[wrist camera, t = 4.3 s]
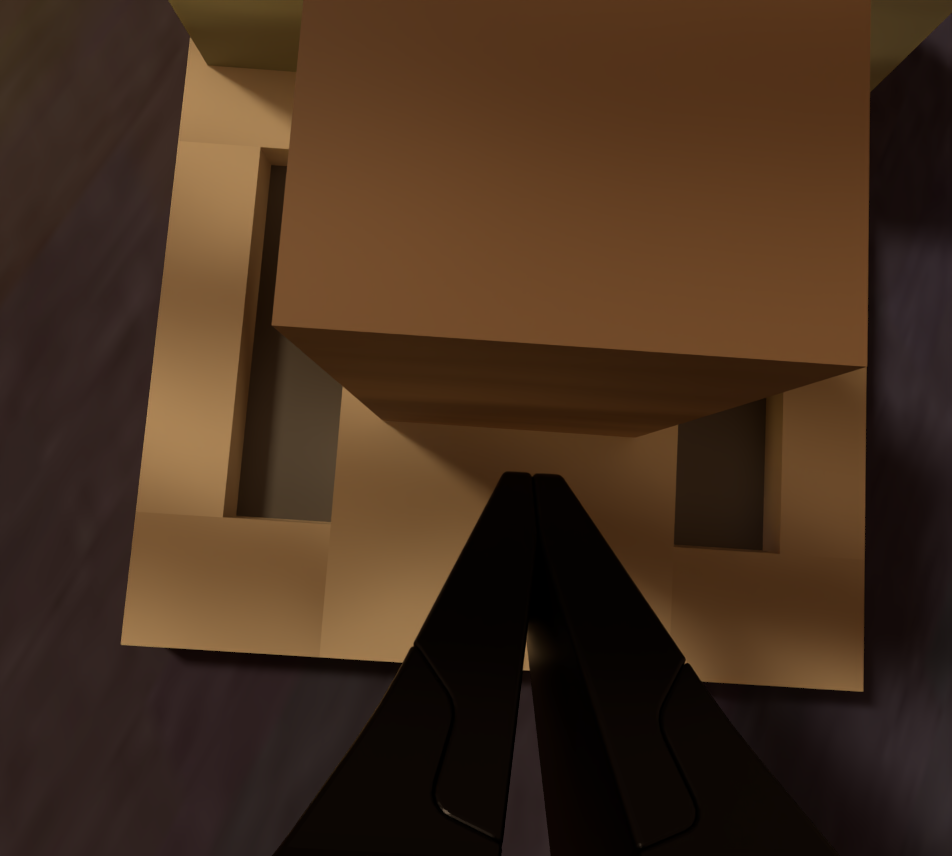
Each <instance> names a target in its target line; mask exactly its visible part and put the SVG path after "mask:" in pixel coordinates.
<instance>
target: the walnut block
mask: <svg viewBox="0 0 952 856" xmlns="http://www.w3.org/2000/svg"><path fill="white" fill-rule="evenodd" d="M870 34H871V0H303V10H302V20H301V30H300V40H299V50H298V61H297V71H296V81H295V91H294V102H293V112H292V122H291V132H290V143H289V153H288V163H287V173H286V183H285V194H284V204H283V214H282V224H281V235H280V245H279V255H278V265H277V276H276V286H275V296H274V306H273V316H272V326H273V327H274V328H275V329H276V330H278V331H279V332H280V333H281V334H282V335H283V336H285V337H286V338H287V339H288V340H289V341H290V342H292V343H293V344H294V345H295V346H296V347H297V348H299V349H300V350H301V351H302V352H303V353H304V354H306V355H307V356H308V357H309V358H310V359H311V360H313V361H314V362H315V363H316V364H317V365H318V366H320V367H321V368H322V369H323V370H324V371H325V372H327V373H328V374H329V375H330V376H331V377H332V378H334V379H335V380H336V381H337V382H338V383H339V384H341V385H342V386H343V387H344V388H345V389H346V390H348V391H349V392H350V393H351V394H352V395H353V396H354V397H356V398H357V399H358V400H359V401H360V402H361V403H363V404H364V405H365V406H366V407H367V408H368V409H370V410H371V411H372V412H373V413H374V414H375V415H377V416H378V417H379V418H380V419H381V420H383V421H397V422H412V423H427V424H442V425H456V426H471V427H486V428H501V429H515V430H530V431H545V432H560V433H574V434H589V435H604V436H619V437H633V438H636V437H639V436H643V435H646V434H649V433H652V432H656V431H659V430H662V429H665V428H669V427H672V426H675V425H679V424H682V423H685V422H688V421H692V420H695V419H698V418H701V417H705V416H708V415H711V414H714V413H718V412H721V411H724V410H727V409H731V408H734V407H737V406H741V405H744V404H747V403H750V402H754V401H757V400H760V399H763V398H767V397H770V396H773V395H776V394H780V393H783V392H786V391H789V390H793V389H796V388H799V387H803V386H806V385H809V384H812V383H816V382H819V381H822V380H825V379H829V378H832V377H835V376H838V375H842V374H845V373H848V372H851V371H855V370H858V369H861V368H865V367H867V341H868V239H869V136H870Z"/></svg>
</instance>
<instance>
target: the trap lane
mask: <svg viewBox="0 0 952 856" xmlns="http://www.w3.org/2000/svg"><path fill="white" fill-rule="evenodd" d="M168 1H169V2H170V4H171V6H172V7H173V9H174V11H175V12H176V14H177V16H178V17H179V19H180V21H181V22H182V24H183V25H184V27H185V29H186V30H187V32H188V34H189V35H190V45H189V53H188V62H187V71H186V80H185V88H184V97H183V106H182V114H181V123H180V132H179V141H178V149H177V158H176V167H175V175H174V184H173V193H172V202H171V210H170V219H169V228H168V237H167V245H166V254H165V263H164V271H163V280H162V289H161V298H160V306H159V315H158V324H157V333H156V341H155V350H154V359H153V367H152V376H151V385H150V394H149V402H148V411H147V420H146V429H145V437H144V446H143V455H142V463H141V472H140V481H139V490H138V498H137V507H136V516H135V525H134V533H133V542H132V551H131V559H130V568H129V577H128V586H127V594H126V603H125V612H124V621H123V629H122V638H121V645H133V646H149V647H165V648H180V649H196V650H212V651H228V652H244V653H259V654H275V655H291V656H307V657H322V658H338V659H354V660H370V661H386V662H401V663H403V661H404V659H405V657H406V655H407V653H408V651H409V649H410V648H411V647H413V643H414V641H415V639H416V637H417V635H418V633H419V631H420V629H421V627H422V625H423V623H424V622H425V620H426V618H427V616H428V614H429V612H430V610H431V608H432V606H433V604H434V603H435V601H436V599H437V597H438V595H439V593H440V591H441V589H442V587H443V585H444V584H445V582H446V580H447V578H448V576H449V574H450V572H451V570H452V568H453V566H454V564H455V563H456V561H457V559H458V557H459V555H460V553H461V551H462V549H463V547H464V545H465V544H466V542H467V540H468V538H469V536H470V534H471V532H472V530H473V528H474V526H475V525H476V523H477V521H478V519H479V517H480V515H481V513H482V511H483V509H484V507H485V506H486V504H487V502H488V500H489V498H490V496H491V494H492V492H493V490H494V488H495V487H496V485H497V483H498V481H499V479H500V477H501V475H502V474H503V473H504V472H505V471H516V472H528V473H530V474H531V475H532V476H533V475H534V474H536V473H547V474H559V475H561V476H562V477H563V478H564V479H565V481H566V482H567V484H568V485H569V487H570V488H571V490H572V491H573V493H574V494H575V495H576V497H577V498H578V500H579V501H580V503H581V504H582V506H583V507H584V509H585V510H586V512H587V513H588V515H589V516H590V518H591V519H592V521H593V522H594V524H595V525H596V527H597V528H598V529H599V531H600V532H601V534H602V535H603V537H604V538H605V540H606V541H607V543H608V544H609V546H610V547H611V549H612V550H613V552H614V553H615V555H616V556H617V558H618V559H619V560H620V562H621V563H622V565H623V566H624V568H625V569H626V571H627V572H628V574H629V575H630V577H631V578H632V580H633V581H634V583H635V584H636V586H637V587H638V589H639V590H640V591H641V593H642V594H643V596H644V597H645V599H646V600H647V602H648V603H649V605H650V606H651V608H652V609H653V611H654V612H655V614H656V615H657V617H658V618H659V620H660V621H661V623H662V624H663V625H664V627H665V628H666V630H667V631H668V633H669V634H670V636H671V637H672V639H673V640H674V642H675V643H676V645H677V646H678V648H679V649H680V651H681V652H682V654H683V655H684V656H685V658H686V661H685V663H689V664H690V665H691V666H692V668H693V669H694V671H695V672H696V674H697V675H698V677H699V678H700V680H701V681H702V682H717V683H733V684H749V685H765V686H780V687H796V688H812V689H828V690H844V691H859V692H863V674H864V573H865V472H866V371H867V367H865V368H861V369H858V370H855V371H851V372H848V373H845V374H842V375H838V376H835V377H832V378H829V379H825V380H822V381H819V382H816V383H812V384H809V385H806V386H803V387H799V388H796V389H793V390H789V391H786V392H783V393H780V394H776V395H773V396H770V397H767V398H763V399H760V400H757V401H754V402H750V403H747V404H744V405H741V406H737V407H734V408H731V409H727V410H724V411H721V412H718V413H714V414H711V415H708V416H705V417H701V418H698V419H695V420H692V421H688V422H685V423H682V424H679V425H675V426H672V427H669V428H665V429H662V430H659V431H656V432H652V433H649V434H646V435H643V436H639V437H636V438H633V437H619V436H604V435H589V434H574V433H560V432H545V431H530V430H515V429H501V428H486V427H471V426H456V425H442V424H427V423H412V422H397V421H383V420H381V419H380V418H379V417H378V416H377V415H375V414H374V413H373V412H372V411H371V410H370V409H368V408H367V407H366V406H365V405H364V404H363V403H361V402H360V401H359V400H358V399H357V398H356V397H354V396H353V395H352V394H351V393H350V392H349V391H348V390H346V389H345V388H344V387H343V386H342V385H341V384H339V383H338V382H337V381H336V380H335V379H334V378H332V377H331V376H330V375H329V374H328V373H327V372H325V371H324V370H323V369H322V368H321V367H320V366H318V365H317V364H316V363H315V362H314V361H313V360H311V359H310V358H309V357H308V356H307V355H306V354H304V353H303V352H302V351H301V350H300V349H299V348H297V347H296V346H295V345H294V344H293V343H292V342H290V341H289V340H288V339H287V338H286V337H285V336H283V335H282V334H281V333H280V332H279V331H278V330H276V329H275V328H274V327H273V326H272V316H273V306H274V296H275V286H276V276H277V265H278V255H279V245H280V235H281V224H282V214H283V204H284V194H285V183H286V173H287V163H288V153H289V143H290V132H291V122H292V112H293V102H294V91H295V81H296V71H297V61H298V50H299V40H300V30H301V20H302V10H303V0H168ZM951 13H952V0H871V34H870V92H871V91H872V90H873V89H874V88H875V87H876V86H877V85H878V84H879V83H880V82H881V81H882V80H883V79H884V78H885V77H886V76H887V75H888V74H890V73H891V72H892V71H893V70H894V69H895V68H896V67H897V66H898V65H899V64H900V63H901V62H902V61H903V60H904V59H905V58H906V57H907V56H908V55H909V54H910V53H911V52H912V51H913V50H914V49H915V48H916V47H917V46H918V45H919V44H920V43H921V42H922V41H923V40H924V39H925V38H926V37H927V36H928V35H929V34H930V33H931V32H932V31H933V30H934V29H935V28H937V27H938V26H939V25H940V24H941V23H942V22H943V21H944V20H945V19H946V18H947V17H948V16H949V15H950V14H951ZM685 663H684V664H685ZM523 670H528V671H530V668H529V660H528V651H527V642H526V648H525V657H524V665H523Z"/></svg>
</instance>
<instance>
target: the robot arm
mask: <svg viewBox="0 0 952 856" xmlns="http://www.w3.org/2000/svg"><path fill="white" fill-rule="evenodd" d="M526 642H527V651H528V660H529V668H530V677H531V686H532V695H533V704H534V713H535V721H536V730H537V739H538V748H539V757H540V765H541V774H542V783H543V792H544V801H545V809H546V818H547V827H548V836H549V845H550V854H551V856H840V855H839V854H838V853H837V852H836V851H835V849H834V848H833V847H832V846H831V845H830V843H829V842H828V841H827V840H826V839H825V837H824V836H823V835H822V834H821V833H820V831H819V830H818V829H817V828H816V826H815V825H814V824H813V823H812V822H811V820H810V819H809V818H808V817H807V816H806V814H805V813H804V812H803V811H802V810H801V808H800V807H799V806H798V805H797V804H796V802H795V801H794V800H793V799H792V798H791V796H790V795H789V794H788V793H787V792H786V790H785V789H784V788H783V787H782V786H781V784H780V783H779V782H778V781H777V780H776V778H775V777H774V776H773V775H772V774H771V772H770V771H769V770H768V769H767V768H766V766H765V765H764V764H763V763H762V761H761V760H760V759H759V758H758V756H757V755H756V754H755V753H754V751H753V750H752V749H751V748H750V746H749V745H748V744H747V743H746V741H745V740H744V739H743V738H742V736H741V735H740V734H739V733H738V731H737V730H736V729H735V727H734V726H733V725H732V724H731V722H730V721H729V719H728V718H727V717H726V715H725V714H724V712H723V711H722V710H721V708H720V707H719V706H718V704H717V703H716V701H715V700H714V699H713V697H712V696H711V694H710V693H709V692H708V690H707V689H706V687H705V686H704V684H703V683H702V681H701V680H700V678H699V677H698V675H697V674H696V672H695V671H694V669H693V668H692V666H691V665H690V664H689V663H685V661H686V658H685V656H684V655H683V654H682V652H681V651H680V649H679V648H678V646H677V645H676V643H675V642H674V640H673V639H672V637H671V636H670V634H669V633H668V631H667V630H666V628H665V627H664V625H663V624H662V623H661V621H660V620H659V618H658V617H657V615H656V614H655V612H654V611H653V609H652V608H651V606H650V605H649V603H648V602H647V600H646V599H645V597H644V596H643V594H642V593H641V591H640V590H639V589H638V587H637V586H636V584H635V583H634V581H633V580H632V578H631V577H630V575H629V574H628V572H627V571H626V569H625V568H624V566H623V565H622V563H621V562H620V560H619V559H618V558H617V556H616V555H615V553H614V552H613V550H612V549H611V547H610V546H609V544H608V543H607V541H606V540H605V538H604V537H603V535H602V534H601V532H600V531H599V529H598V528H597V527H596V525H595V524H594V522H593V521H592V519H591V518H590V516H589V515H588V513H587V512H586V510H585V509H584V507H583V506H582V504H581V503H580V501H579V500H578V498H577V497H576V495H575V494H574V493H573V491H572V490H571V488H570V487H569V485H568V484H567V482H566V481H565V479H564V478H563V477H562V476H561V475H559V474H547V473H536V474H534V475H533V476H532V475H531V474H530V473H528V472H516V471H505V472H504V473H503V474H502V475H501V477H500V479H499V481H498V483H497V485H496V487H495V488H494V490H493V492H492V494H491V496H490V498H489V500H488V502H487V504H486V506H485V507H484V509H483V511H482V513H481V515H480V517H479V519H478V521H477V523H476V525H475V526H474V528H473V530H472V532H471V534H470V536H469V538H468V540H467V542H466V544H465V545H464V547H463V549H462V551H461V553H460V555H459V557H458V559H457V561H456V563H455V564H454V566H453V568H452V570H451V572H450V574H449V576H448V578H447V580H446V582H445V584H444V585H443V587H442V589H441V591H440V593H439V595H438V597H437V599H436V601H435V603H434V604H433V606H432V608H431V610H430V612H429V614H428V616H427V618H426V620H425V622H424V623H423V625H422V627H421V629H420V631H419V633H418V635H417V637H416V639H415V641H414V643H413V647H411V648H410V649H409V651H408V653H407V655H406V657H405V659H404V661H403V663H402V665H401V666H400V668H399V670H398V672H397V674H396V675H395V677H394V679H393V681H392V682H391V684H390V686H389V688H388V689H387V691H386V693H385V695H384V696H383V698H382V700H381V702H380V703H379V705H378V707H377V708H376V710H375V711H374V713H373V714H372V716H371V717H370V719H369V720H368V722H367V723H366V725H365V726H364V728H363V729H362V731H361V732H360V734H359V735H358V737H357V738H356V740H355V741H354V743H353V744H352V746H351V747H350V748H349V750H348V751H347V753H346V754H345V755H344V757H343V758H342V760H341V761H340V763H339V764H338V765H337V767H336V768H335V770H334V771H333V772H332V774H331V775H330V777H329V778H328V779H327V781H326V782H325V784H324V785H323V787H322V788H321V789H320V791H319V792H318V794H317V795H316V796H315V798H314V799H313V801H312V802H311V803H310V805H309V806H308V808H307V809H306V810H305V812H304V813H303V815H302V816H301V818H300V819H299V820H298V822H297V823H296V825H295V826H294V827H293V829H292V830H291V832H290V833H289V834H288V836H287V837H286V838H285V840H284V841H283V842H282V844H281V845H280V846H279V848H278V849H277V850H276V851H275V853H274V854H273V855H272V856H501V853H502V848H501V847H502V843H503V836H504V828H505V819H506V810H507V802H508V793H509V785H510V776H511V768H512V759H513V751H514V742H515V734H516V725H517V717H518V708H519V700H520V691H521V682H522V674H523V665H524V657H525V648H526ZM684 663H685V664H684Z"/></svg>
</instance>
